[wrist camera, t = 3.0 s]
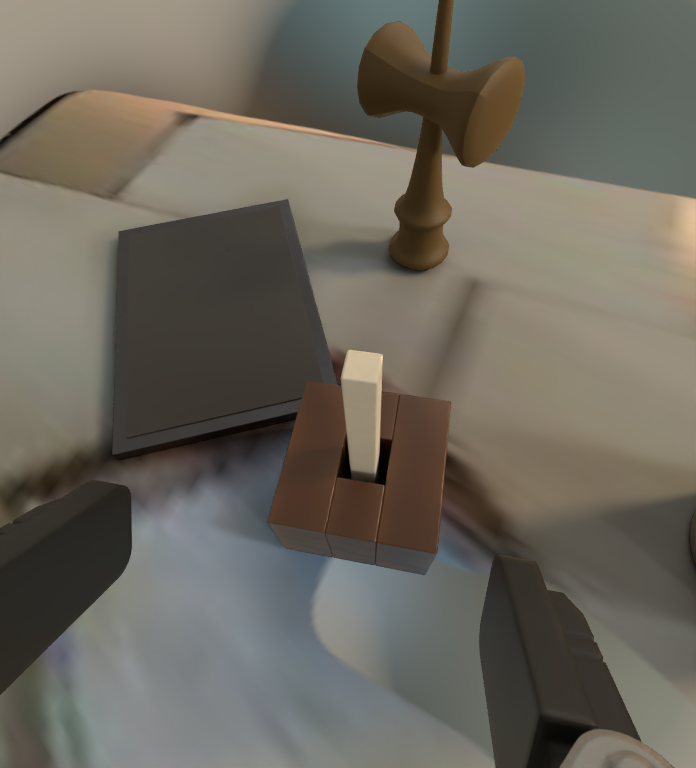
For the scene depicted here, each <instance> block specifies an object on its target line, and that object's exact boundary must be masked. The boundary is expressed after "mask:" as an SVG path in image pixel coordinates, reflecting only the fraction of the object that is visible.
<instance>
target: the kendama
mask: <svg viewBox="0 0 696 768" xmlns="http://www.w3.org/2000/svg"><path fill="white" fill-rule="evenodd" d="M452 12H453V0H439V4H438V12H437V20H436V27H435V35H434V43H433V51H432V57H431V56H430V55H429V54H428V52H427V51H426V49H425V48H424V46H423V45H422V43H421V42H420V40H419V38H418V37H417V35H416V33H415V32H414V30H413V29H412V28H411V27H410V26H408V25H406V24H405V23H403V22H401V21H395V22H391V23H387V24H385V25H384V26H382V27H381V28H380V29H379V30H378V31H376V32H375V33H374V35H373V36H372V38H371V39H370V41H369V42H368V44H367V46H366V47H365V49H364V52H363V55H362V59H361V62H360V66H359V72H358V85H357V89H358V96H359V103H360V105H361V106H362V108H363V110H364V112H365V113H366V114H367V115H369V116H373V117H379V118H380V117H385V116H389V115H392V114H396V113H400V112H405V111H408V112H413V113H416V114H419V115H421V116H423V123H422V129H421V134H420V139H419V144H418V149H417V154H416V158H415V163H414V167H413V171H412V175H411V179H410V182H409V186H408V188H407V191H406V193H405V194H404V195H402V196H401V197H400V198H399V199H398V200H397V201H396V204H395V209H394V212H395V214H396V216H397V218H398V220H399V221H400V228H399V231H397V232H396V234H395V235H394V236H393V237H392V238H391V240H390V243H389V247H388V249H389V252H390V254H391V256H392V258H393V259H395V260H396V261H397V262H398V263H399V264H401V265H403V266H405V267H408V268H410V269H416V270H425V269H429V268H433V267H435V266H436V265H438V264H440V263H441V262H442V261H443V260H444V259H445V257H446V256H447V254H448V248H449V244H448V242H447V240H446V239H445V237H444V235H443V224H445V223H446V222H447V220H448V219H449V218H450V217H451V212H452V208H451V206H450V204H449V203H448V202H447V200H446V199H444V195H443V188H442V130H443V131H444V133H445V134H446V136H447V138H448V140H449V142H450V144H451V146H452V148H453V150H454V152H455V154H456V156H457V158H458V160H459V162H460V163H461V164H462V165H463V166H466V167H472V168H474V167H475V166H477V165H479V164H481V163H483V162H484V161H486V160H487V159H488V158H489V157H490V156H491V155H492V154H493V153H494V152H495V150H497V148H498V147H499V145H500V144H501V143H502V141H503V140H504V138H505V137H506V135H507V133H508V131H509V129H510V127H511V125H512V123H513V121H514V119H515V116H516V114H517V110H518V108H519V105H520V102H521V99H522V93H523V88H524V82H525V74H524V63H523V62H522V61H520V60H519V59H518V58H516V57H514V56H511V57H507V58H504V59H501V60H499V61H496V62H494V63H491V64H488V65H486V66H484V67H482V68H479V69H476V70H473V71H467V72H463V71H457V70H454V69H452V68H449V67H447V63H448V53H449V43H450V32H451V23H452Z"/></svg>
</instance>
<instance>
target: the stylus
mask: <svg viewBox="0 0 696 768" xmlns="http://www.w3.org/2000/svg"><path fill="white" fill-rule="evenodd" d="M382 363H383V356H382V354H378V353H370V352H363V351H355V350H348V351H347V354H346V358H345V362H344V366H343V371H342V375H341V385H342V394H343V404H344V413H345V422H346V432H347V441H348V451H349V460H350V470H351V479H352V480H357V481H363V482H369V483H375V484H379V479H378V476H379V448H380V420H381V391H382Z"/></svg>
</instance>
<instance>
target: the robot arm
mask: <svg viewBox="0 0 696 768" xmlns="http://www.w3.org/2000/svg"><path fill="white" fill-rule="evenodd" d="M690 542H691V549H692V554H693V558H694V561H695V564H696V511H695V514H694V516H693V519H692V523H691V529H690ZM131 550H132V529H131V494H130V490H129V489H128V487H126V486H124V485H119V484H113V483H108V482H102V481H97V480H91V481H88V482H87V483H85V484H83V485H82V486H80V487H78V488H77V489H75V490H74V491H72V492H70V493H69V494H67V495H65V496H64V497H62V498H60V499H58V500H55V501H52V502H49V503H46V504H43V505H41V506H38V507H35V508H34V509H32V510H30V511H29V512H27V513H25V514H24V515H22V516H20V517H19V518H17V519H15V520H14V521H13V523H12V524H10V523H9V524H7V525H5V526H4V527H2V528H0V695H1V694H2V693H3V692H4V691H5V690H6V689H7V688H8V687H9V686H10V685H11V684H12V683H13V682H14V681H15V680H16V679H17V678H18V677H19V676H20V675H21V674H22V673H23V672H24V671H25V670H26V669H27V668H28V667H29V666H30V665H31V664H32V663H33V662H34V661H35V660H36V659H37V658H38V657H39V656H40V655H41V654H42V653H43V652H44V651H45V650H46V649H47V648H48V647H49V646H50V645H51V644H52V643H53V642H54V641H55V640H56V639H57V638H58V637H59V636H60V635H61V634H62V633H63V632H64V631H65V630H66V629H67V628H68V627H69V626H70V625H71V624H72V623H73V622H74V621H75V620H76V619H77V618H78V617H79V616H80V615H81V614H83V613H84V612H85V611H86V610H87V609H88V608H89V607H90V606H91V605H92V604H93V603H94V602H95V601H96V600H97V599H98V598H99V597H100V596H101V595H102V594H103V593H104V592H105V591H106V590H107V589H108V588H109V587H110V586H111V585H112V584H113V583H114V582H115V581H116V580H117V579H118V578H119V577H120V576H121V574H122V573H123V572H124V570H125V568H126V566H127V564H128V562H129V559H130V555H131ZM479 648H480V658H481V665H482V672H483V679H484V687H485V694H486V702H487V709H488V716H489V723H490V731H491V737H492V744H493V752H494V760H495V767H496V768H674V767H673V766H672V765H671V764H670V763H669V762H668V761H666V760H665V759H664V758H663V757H662V756H661V755H659V754H658V753H657V752H656V751H654V750H653V749H652V748H650V747H649V746H647V745H645V744H644V743H642V742H641V739H640V737H639V735H638V733H637V731H636V728H635V726H634V724H633V722H632V720H631V717H630V715H629V713H628V711H627V709H626V707H625V704H624V702H623V700H622V698H621V696H620V694H619V691H618V689H617V687H616V685H615V682H614V680H613V678H612V676H611V674H610V672H609V670H608V667H607V665H606V663H605V662H603V656H602V654H601V652H600V650H599V648H598V645H597V643H596V642H594V637H593V634H592V632H591V630H590V628H589V626H588V623H587V621H586V619H585V617H584V615H583V613H582V612H580V610H579V609H578V608H577V607H576V606H575V605H574V604H573V603H572V602H571V601H570V600H569V599H568V598H567V597H566V595H565V594H564V593H561V592H555V591H549V590H547V588H546V585H545V583H544V580H543V577H542V575H541V572H540V570H539V567H538V565H537V563H536V561H533V560H527V559H522V558H516V557H511V556H505V555H500V554H496V555H495V557H494V560H493V563H492V568H491V573H490V578H489V583H488V588H487V592H486V597H485V603H484V607H483V612H482V617H481V624H480V635H479Z"/></svg>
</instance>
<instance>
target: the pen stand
mask: <svg viewBox="0 0 696 768" xmlns="http://www.w3.org/2000/svg"><path fill="white" fill-rule="evenodd" d="M450 408H451V402H450V401H444V400H437V399H430V398H423V397H416V396H409V395H402V394H400V395H399V394H397V393H390V392H383V391H381V420H380V448H379V476H382V477H386V483H385V486H384V485H381V484H375V483H369V482H363V481H357V480H351V479H349V474H350V471H351V470H350V460H349V451H348V441H347V432H346V422H345V413H344V404H343V394H342V386H341V385H334V384H326V383H319V382H312V381H306V385H305V388H304V392H303V395H302V399H301V403H300V406H299V410H298V413H297V417H296V421H295V424H294V428H293V431H292V435H291V439H290V442H289V446H288V449H287V453H286V457H285V460H284V464H283V467H282V471H281V475H280V478H279V482H278V485H277V489H276V493H275V496H274V500H273V503H272V507H271V511H270V514H269V518H268V521H267V522H268V524H269V525H270V527H271V528H272V529H273V531H274V532H275V534H276V535H277V536H278V538H279V539H280V541H281V542H282V544H283V545H284V546H285V548H287V549H292V550H297V551H302V552H307V553H312V554H318V555H323V556H328V557H334V558H339V559H344V560H349V561H354V562H360V563H365V564H370V565H375V564H376V566H380V567H386V568H391V569H396V570H401V571H406V572H412V573H417V574H422V575H425V574H426V572H427V570H428V569H429V567H430V565H431V563H432V562H433V560H434V558H435V556H436V554H437V553H438V542H439V531H440V519H441V508H442V497H443V486H444V475H445V464H446V453H447V441H448V430H449V419H450Z"/></svg>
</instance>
